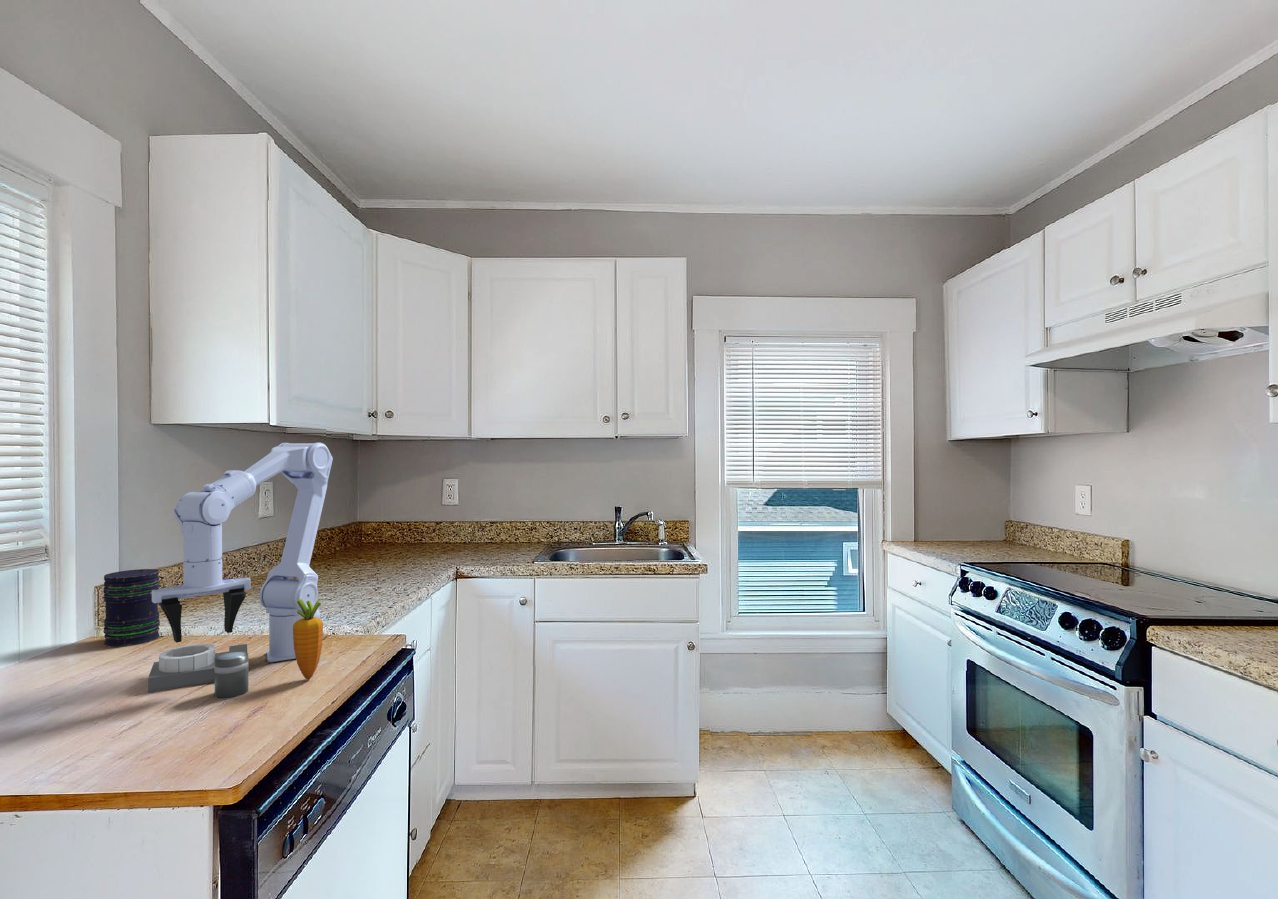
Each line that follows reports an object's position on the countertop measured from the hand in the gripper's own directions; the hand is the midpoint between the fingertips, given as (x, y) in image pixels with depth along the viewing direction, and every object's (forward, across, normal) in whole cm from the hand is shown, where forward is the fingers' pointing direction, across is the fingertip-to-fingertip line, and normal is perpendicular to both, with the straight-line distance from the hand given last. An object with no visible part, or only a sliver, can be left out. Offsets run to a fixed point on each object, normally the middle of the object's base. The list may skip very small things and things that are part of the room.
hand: (203, 636), depth 115 cm
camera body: (+10, -2, -9) cm, 13 cm away
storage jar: (+10, +3, -46) cm, 47 cm away
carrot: (+10, -14, +8) cm, 19 cm away
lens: (+10, -3, +5) cm, 11 cm away
